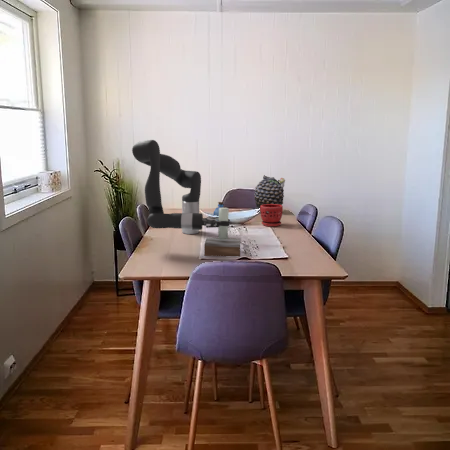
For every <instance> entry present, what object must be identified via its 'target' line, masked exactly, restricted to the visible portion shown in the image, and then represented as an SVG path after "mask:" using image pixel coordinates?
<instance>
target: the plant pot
mask: <svg viewBox="0 0 450 450" xmlns="http://www.w3.org/2000/svg"><path fill="white" fill-rule="evenodd" d="M283 210H284V208H283V204H282V205H278V204H264V205H261V206H260V212H259V213H260V217H261V220H262V221H261V224H262V226H265V227H279V226H280V225H282V221H281V219H282V216H283V212H284V211H283ZM267 211H268V212H269V213H267Z"/></svg>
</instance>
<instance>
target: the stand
mask: <svg viewBox="0 0 450 450" xmlns="http://www.w3.org/2000/svg"><path fill="white" fill-rule="evenodd" d="M203 249H204V251H203V252H204V256H205V257H226V256H240V257H241V238H232V237H230V238H229V237H228V239H225V240H222V239H218V237H205V240H204V248H203Z"/></svg>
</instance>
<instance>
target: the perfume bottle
mask: <svg viewBox="0 0 450 450" xmlns="http://www.w3.org/2000/svg"><path fill="white" fill-rule="evenodd" d="M217 203H218V204H217V207H216V208H215V209H214V210H213V216H214V215H217V216H219V208H222V207H224V206H225V205H224V201H218V202H217Z"/></svg>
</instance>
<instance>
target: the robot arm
mask: <svg viewBox="0 0 450 450" xmlns="http://www.w3.org/2000/svg"><path fill="white" fill-rule="evenodd" d="M131 151H132V155H133V156H134V159H135V160H137V162H139V163H141V164H144V165H146V166H148V167H150V170H149V174H148V177H147V180H146V183H145V185H144V195H145V196H144V197H145V202H146V203H145V204H146V206H147V207H148V214H149V215H148V217H147V218H146V221H147V225H148V226H149V227H150V228H151V229H181V234H182V233H183V234H186V235H196V234H199V233H200V231H202V230H203V226H204V227H205V228H207V229H208V228H209V229H210V228H218V227H220V226H228V227H230V223H231V222H230V221H231V219H230V218H228V221H219V217H213V216H206V217H204V214H203V213H200V199H201V192H202V191H201V189H202V175H201V174H200V172H199V171H196V170H184V169H182V168H181V164H180V162H179V161H177V159H175V158H174V157H172V156H170V155H167V154H163V153H161V150H160V145H159V143H158V142H157V141H156V140H154V139H147V140H142V141H138V142H136V143H134V144H133V146H132V148H131ZM161 174H162V175H163V176H166V177H168V178H169V179H171V180H173V181H174V182H175V183H177V184H178V185H179V186H180V187H181V188H184V189H190V191H189V192H188V193H187V194H183V195H182V197H181V200H182V201H181V212H179V213H178V212H173V213H164V207H163V204H162V194H161V186H160V185H161V184H160V182H161V181H160V179H161V178H160V175H161Z"/></svg>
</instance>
